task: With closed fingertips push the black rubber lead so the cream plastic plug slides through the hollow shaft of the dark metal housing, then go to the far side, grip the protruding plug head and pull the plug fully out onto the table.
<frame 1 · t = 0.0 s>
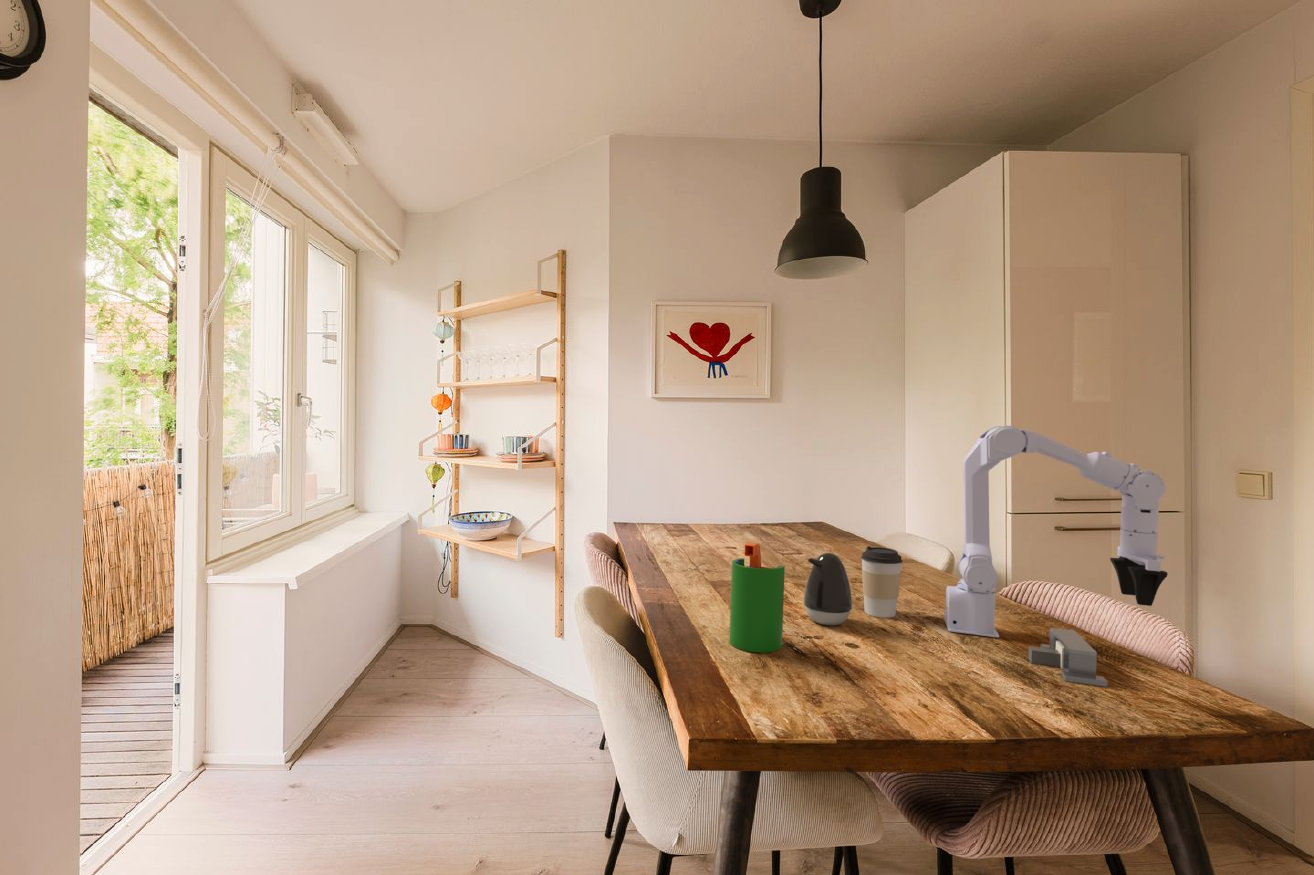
hand: (1136, 599, 116), 10 cm above the table, tool pointing down, fingers open, 7 cm apart
housing: (1071, 666, 107), on the table
black penguin figurine: (826, 622, 129), on the table
plug: (1056, 664, 108), on the table
motor: (754, 645, 114), on the table
coffee cup: (879, 613, 136), on the table
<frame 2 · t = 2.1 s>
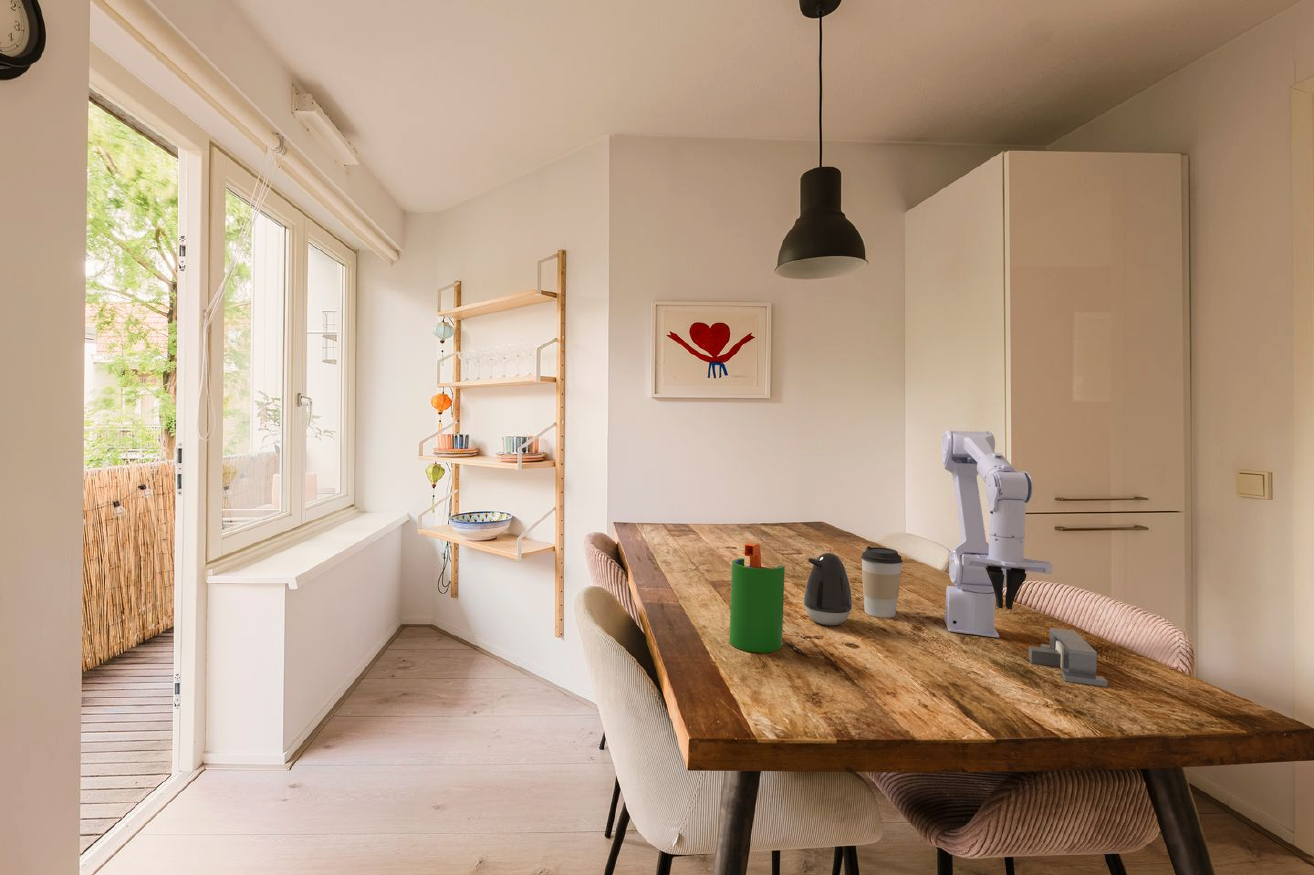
hand: (1004, 607, 111), 9 cm above the table, tool pointing down, fingers closed
nothing on the table moved.
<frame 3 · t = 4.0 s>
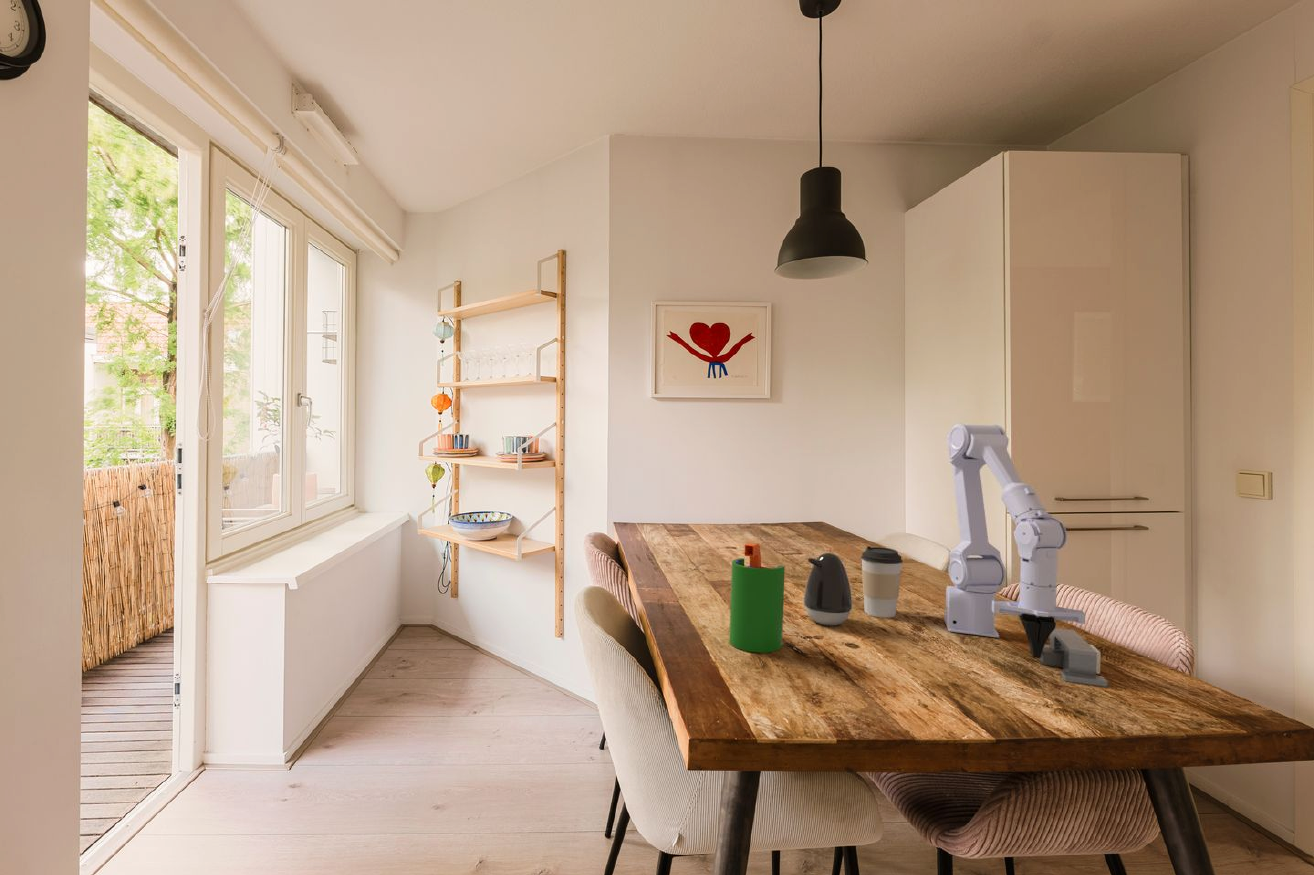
hand: (1035, 656, 109), 1 cm above the table, tool pointing down, fingers closed
plug: (1068, 665, 107), on the table, touching gripper
everything else where it was.
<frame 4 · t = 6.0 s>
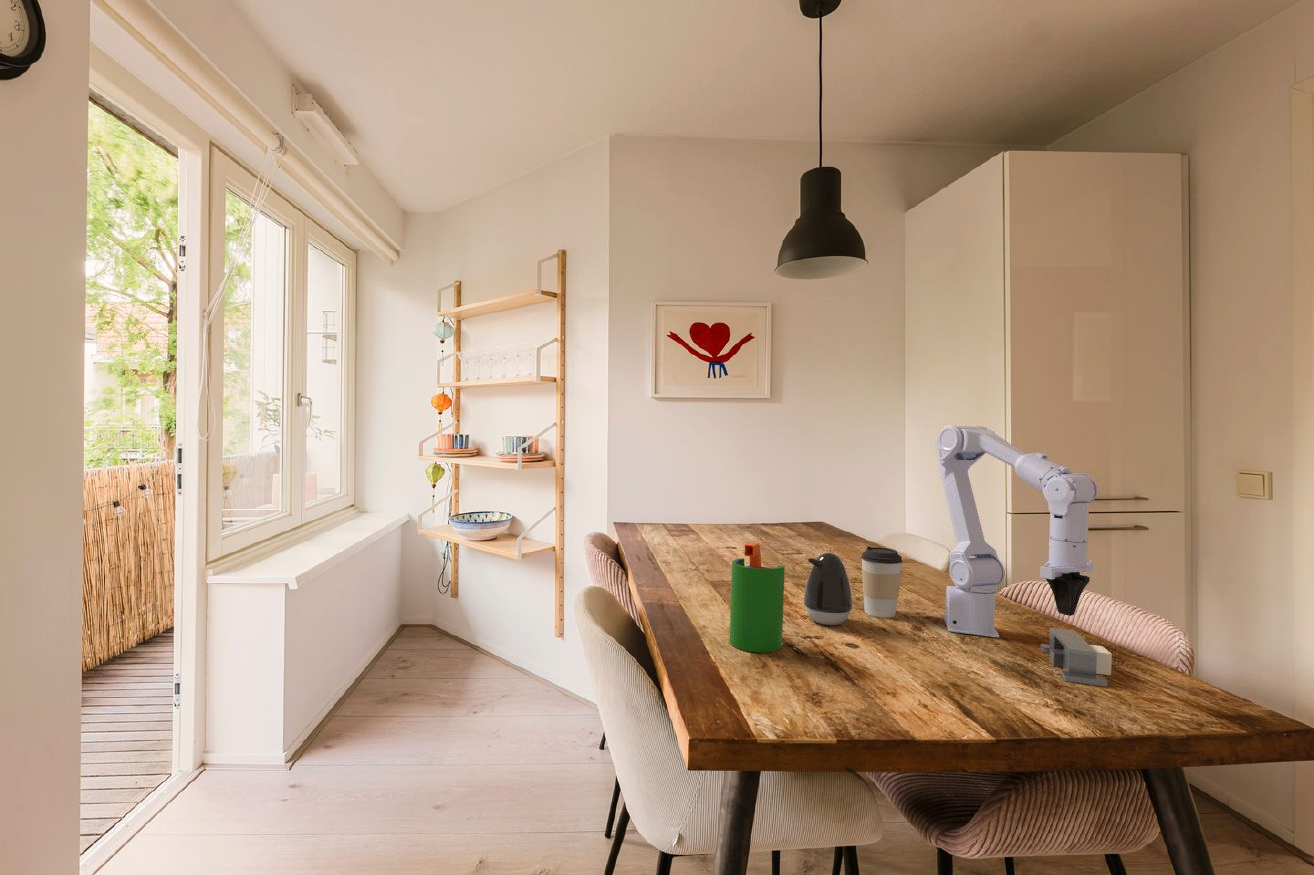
hand: (1065, 614, 107), 10 cm above the table, tool pointing down, fingers closed
plug: (1078, 667, 107), on the table
everything else where it was.
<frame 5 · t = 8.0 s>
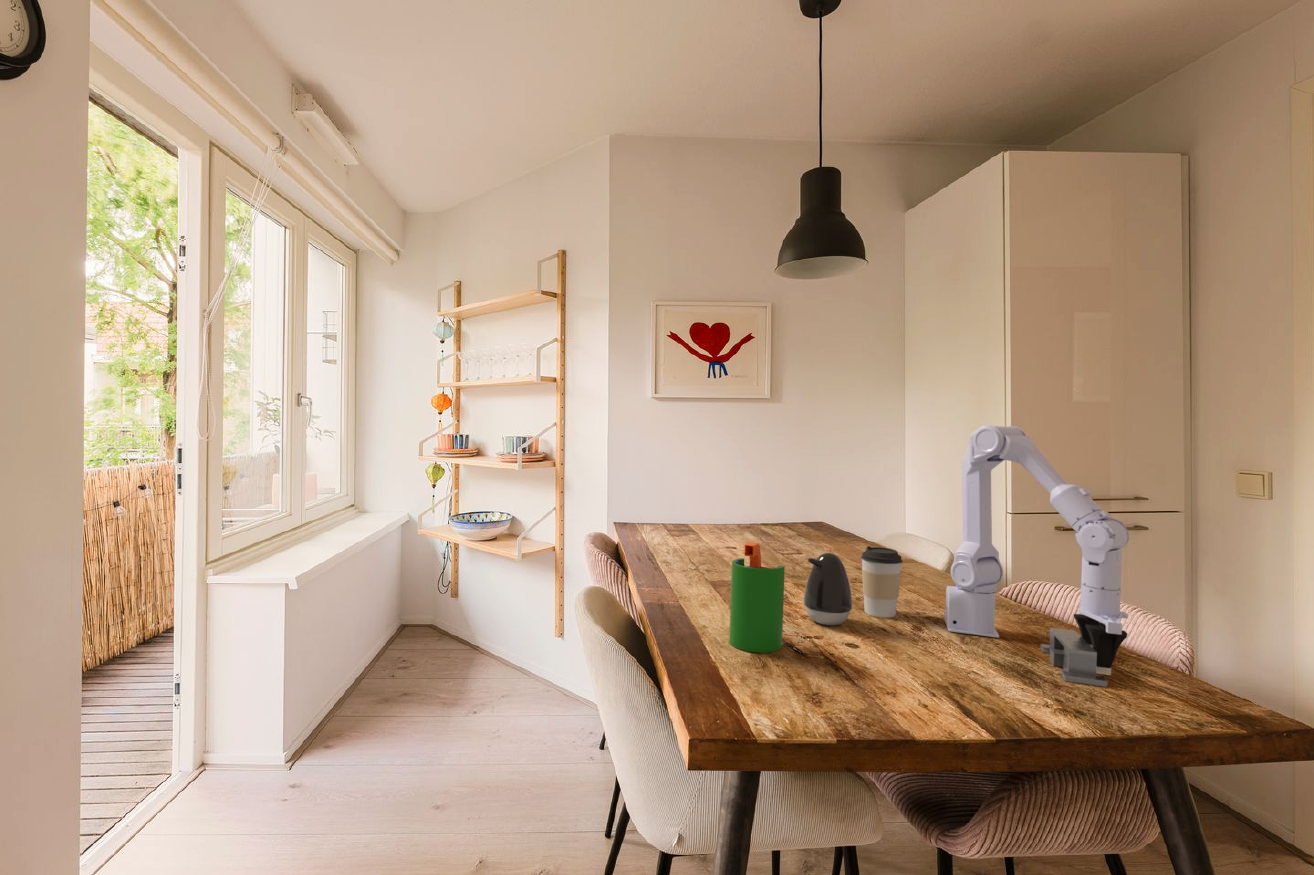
hand: (1097, 661, 106), 2 cm above the table, tool pointing down, fingers open, 5 cm apart
plug: (1078, 667, 107), on the table, touching gripper
everything else where it was.
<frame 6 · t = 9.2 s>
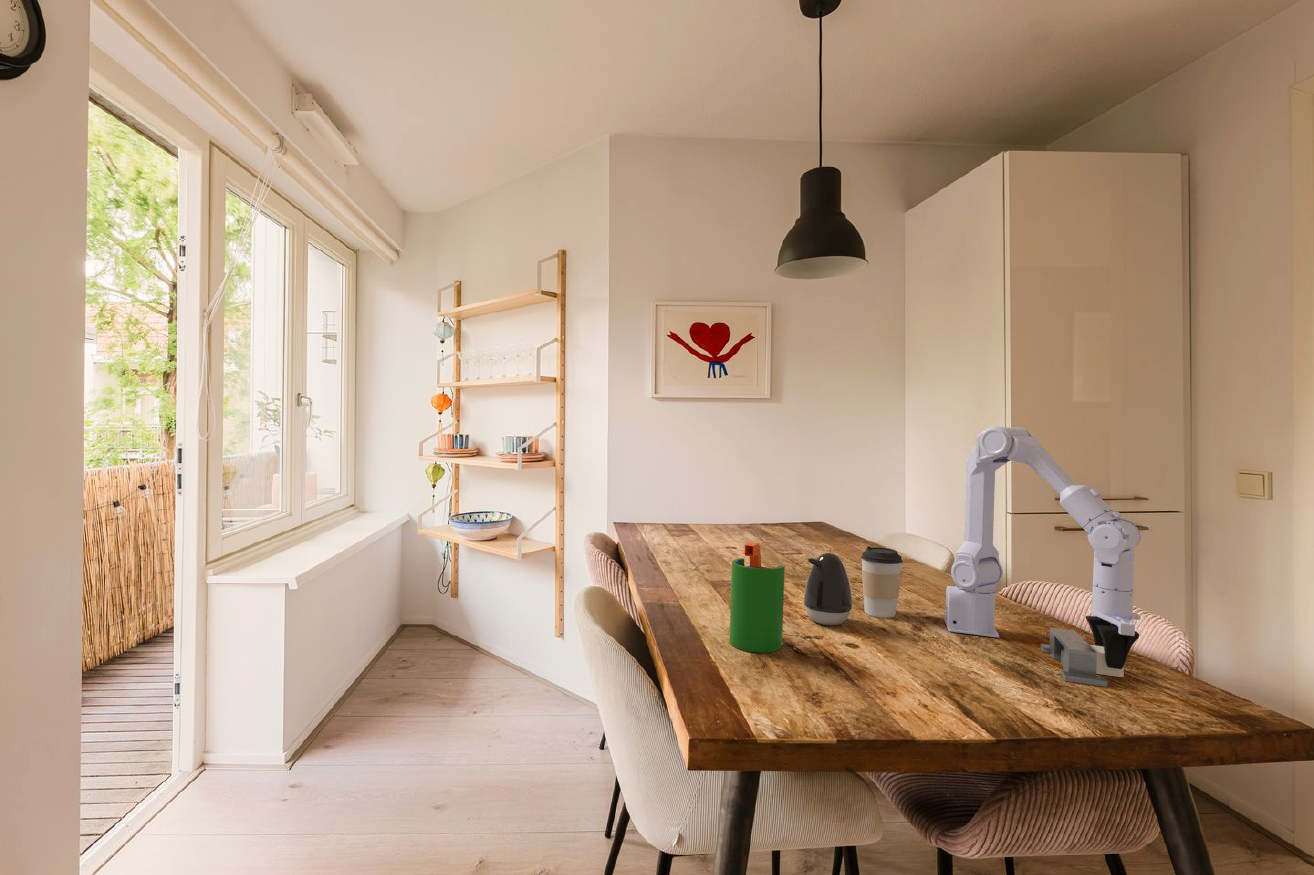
hand: (1109, 662, 105), 2 cm above the table, tool pointing down, fingers closed on plug, 4 cm apart
plug: (1090, 669, 106), on the table, touching gripper
everything else where it was.
when the fingers open (2 cm above the table, at t = 10.3 s): plug stays where it is, on the table.
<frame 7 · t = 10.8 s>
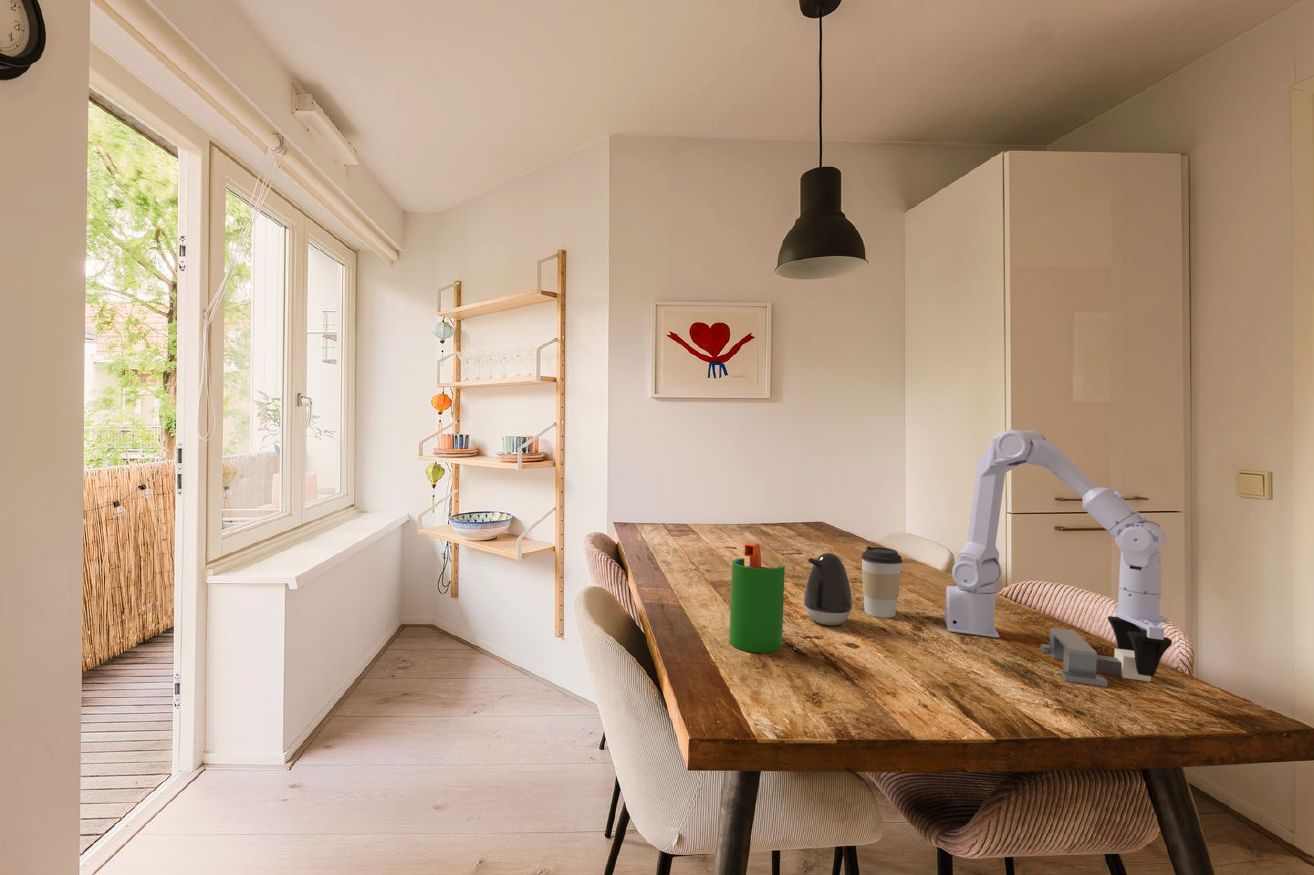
hand: (1136, 666, 104), 2 cm above the table, tool pointing down, fingers open, 7 cm apart
plug: (1116, 673, 105), on the table
everything else where it was.
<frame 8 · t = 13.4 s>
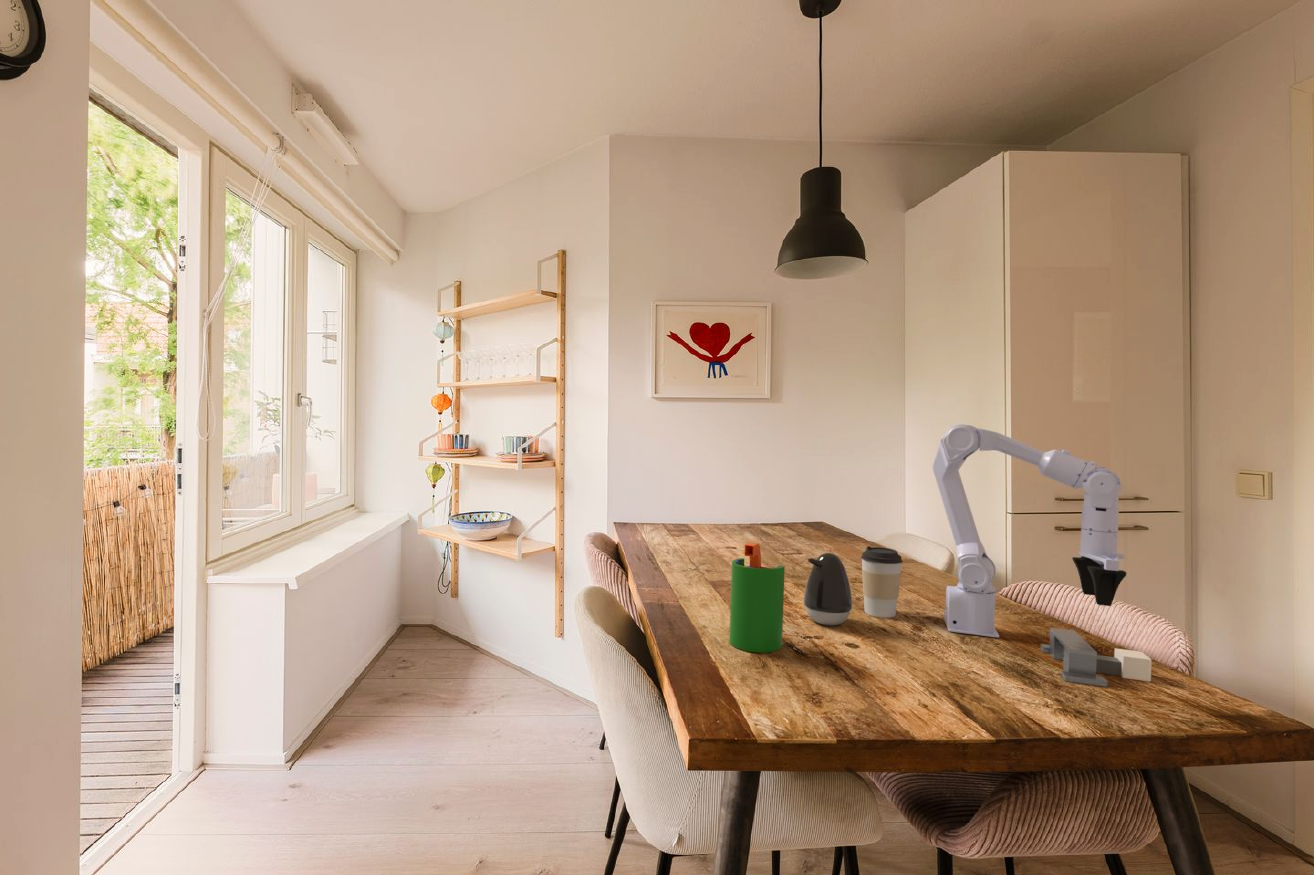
hand: (1096, 599, 114), 10 cm above the table, tool pointing down, fingers open, 7 cm apart
nothing on the table moved.
at the end: plug inside the target area (2.9 cm from its centre), on the table; the gripper is holding nothing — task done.
